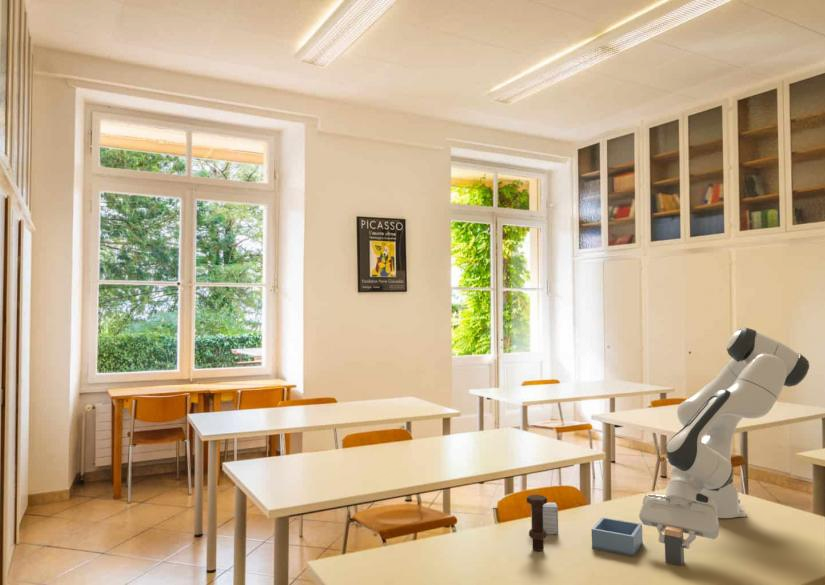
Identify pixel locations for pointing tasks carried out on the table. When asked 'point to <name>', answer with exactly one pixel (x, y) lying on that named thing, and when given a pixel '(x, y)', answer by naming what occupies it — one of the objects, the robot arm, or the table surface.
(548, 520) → the medicine box
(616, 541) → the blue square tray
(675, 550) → the block
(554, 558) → the table surface
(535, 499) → the bolt
